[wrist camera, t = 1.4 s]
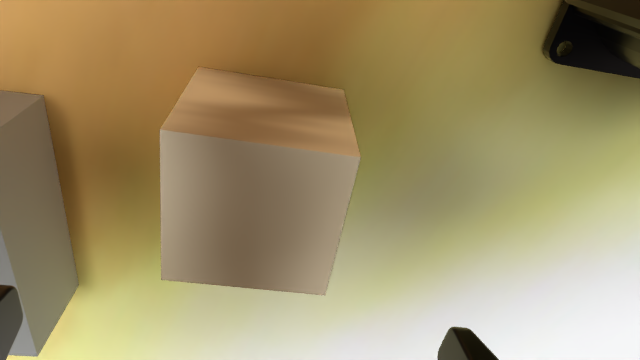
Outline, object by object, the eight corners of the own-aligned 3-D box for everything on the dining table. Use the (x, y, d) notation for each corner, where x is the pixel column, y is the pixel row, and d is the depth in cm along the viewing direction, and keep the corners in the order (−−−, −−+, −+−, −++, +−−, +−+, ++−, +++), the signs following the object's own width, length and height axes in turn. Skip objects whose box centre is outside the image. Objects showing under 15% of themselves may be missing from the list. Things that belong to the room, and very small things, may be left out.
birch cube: (343, 88, 16) (360, 157, 11) (318, 204, 18) (325, 295, 14) (199, 65, 15) (160, 129, 11) (194, 188, 17) (161, 279, 13)
